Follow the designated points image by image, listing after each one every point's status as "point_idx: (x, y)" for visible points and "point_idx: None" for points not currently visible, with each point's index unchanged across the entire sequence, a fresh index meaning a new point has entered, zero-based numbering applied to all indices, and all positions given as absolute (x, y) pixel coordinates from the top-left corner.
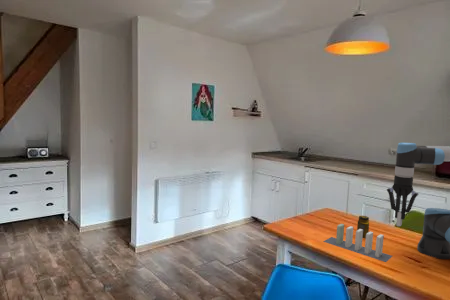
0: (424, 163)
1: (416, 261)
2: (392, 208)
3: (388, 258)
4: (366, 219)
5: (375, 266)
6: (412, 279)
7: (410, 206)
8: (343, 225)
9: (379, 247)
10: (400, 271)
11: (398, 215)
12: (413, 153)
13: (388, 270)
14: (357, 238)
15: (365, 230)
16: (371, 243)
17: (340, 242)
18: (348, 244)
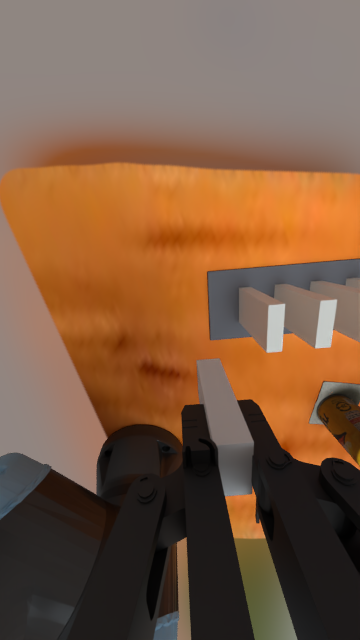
0: None
1: (150, 364)
2: (339, 467)
3: (212, 308)
4: None
5: (220, 210)
6: (101, 218)
7: (78, 623)
8: None
9: (250, 297)
10: (150, 247)
11: (230, 414)
12: None
13: (178, 218)
14: (349, 288)
15: (344, 421)
16: (288, 321)
17: None
18: (355, 281)
